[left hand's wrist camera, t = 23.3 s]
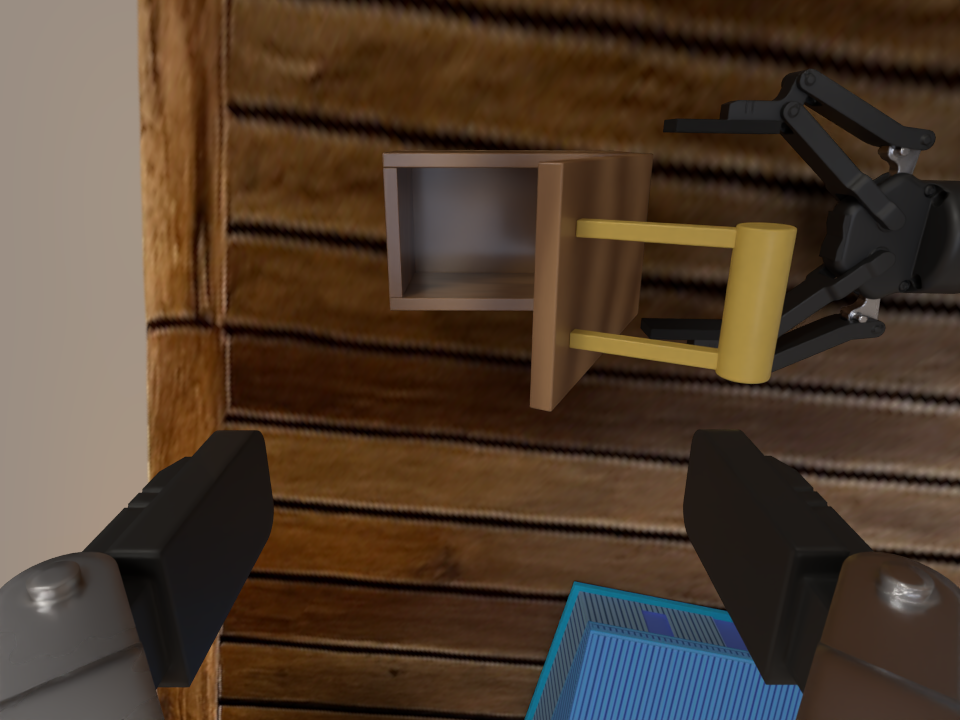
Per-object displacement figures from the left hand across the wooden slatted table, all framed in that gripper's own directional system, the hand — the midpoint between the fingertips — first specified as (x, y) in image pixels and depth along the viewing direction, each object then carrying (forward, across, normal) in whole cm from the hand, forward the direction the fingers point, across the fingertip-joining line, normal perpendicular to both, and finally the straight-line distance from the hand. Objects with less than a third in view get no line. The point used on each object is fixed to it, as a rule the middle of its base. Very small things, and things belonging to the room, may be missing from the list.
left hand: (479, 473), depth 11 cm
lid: (+21, +6, 0) cm, 22 cm away
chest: (+38, +2, 0) cm, 38 cm away
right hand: (+32, +12, 0) cm, 34 cm away
